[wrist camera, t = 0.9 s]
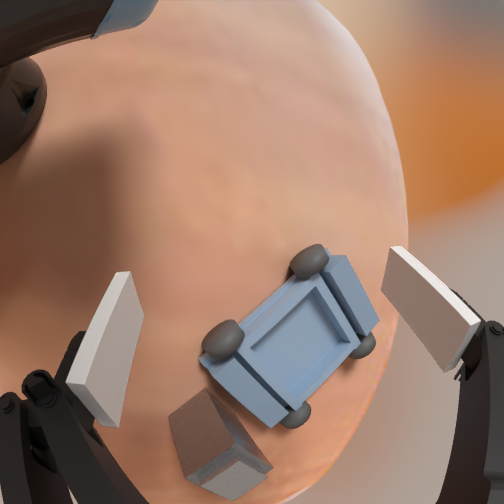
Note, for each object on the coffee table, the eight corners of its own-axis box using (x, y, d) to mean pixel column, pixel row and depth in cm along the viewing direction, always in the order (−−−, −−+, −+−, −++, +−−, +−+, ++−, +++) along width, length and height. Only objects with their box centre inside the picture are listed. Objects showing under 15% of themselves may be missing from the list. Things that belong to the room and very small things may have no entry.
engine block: (168, 416, 27) (187, 487, 16) (205, 388, 29) (240, 451, 17) (201, 441, 28) (231, 507, 17) (235, 415, 30) (279, 474, 19)
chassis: (189, 348, 28) (196, 363, 24) (314, 238, 34) (336, 236, 30) (269, 424, 32) (284, 441, 28) (365, 326, 38) (386, 332, 34)
